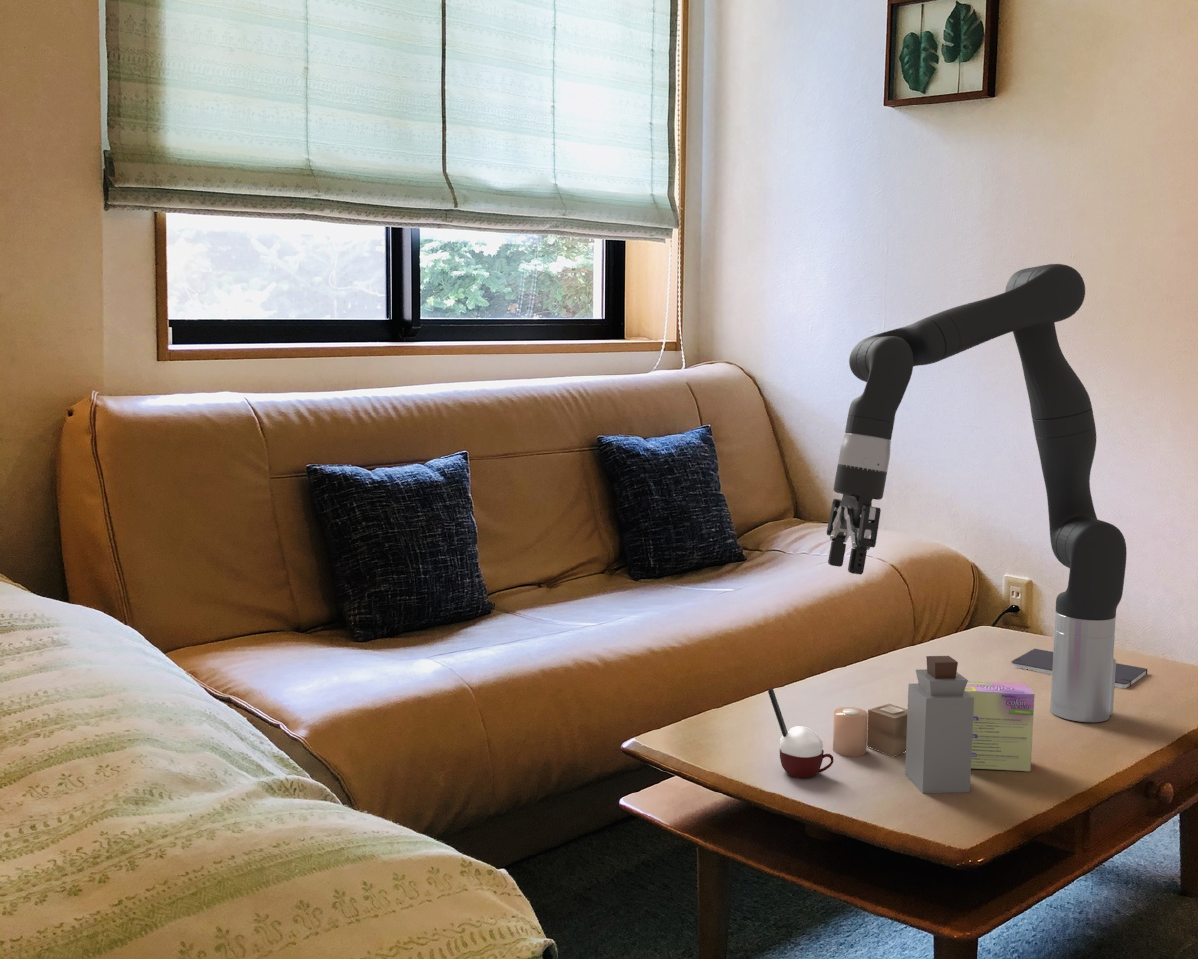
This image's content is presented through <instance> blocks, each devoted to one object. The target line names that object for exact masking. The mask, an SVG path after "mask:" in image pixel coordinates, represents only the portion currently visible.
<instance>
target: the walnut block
mask: <svg viewBox="0 0 1198 959" xmlns="http://www.w3.org/2000/svg"><path fill="white" fill-rule="evenodd" d="M907 712H908V708H907V709H906V708H904V707H902V706H901V707H900V706H898V705H895V704H891V703H887V704H883V705H880V706H877V707H874V708H869V709H867V713H868V720H867V746H868V747H871V748H873V749H876V750H879V751H881V752H884V753H886V754H885V755H887V754H889V755H888V756H890V755H891V756H890V757H892V756H894V757H896V756H895V755H897V756H899V755H898V754H900V753H903V752H905V751H906V738H907ZM868 747H867V748H868ZM871 748H870V749H871ZM873 749H872V750H873ZM876 750H875V751H876ZM879 751H878V752H879ZM881 752H880V753H881ZM884 753H883V754H884ZM903 754H904V753H903ZM900 755H901V754H900Z"/></svg>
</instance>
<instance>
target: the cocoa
mask: <svg viewBox="0 0 1198 959" xmlns="http://www.w3.org/2000/svg"><path fill="white" fill-rule="evenodd" d="M767 690H768V691H767V692H768V695H769V699H770V702H771V706H772V707H773V710H774V713H775V716H776V720H777V723H778V726H779V728H780V731H781V734H782V735H781V737H780V739H779V759H780V760H779V761H780V763H781V767H782V769H783V770H784V771H785V774H786V773H787V775H789V776H791V777H793V778H797V779H809V778H812V777H814V776H816V775H817V774H821V773H823V772H825V771H826V770H828V769H830V768H831V767H832V765H833V763H834V757H833V755H832V754H831V753H824V750H823V748H824V744H823V741H822V739H821V738H820V736H819V735H818V733H817V732H816V731H815V730H814V729H811V728H809V727H807V726H802V725H801V726H800V725H797V726H796V725H795V726H793V727H791V728H790V729H789V730H788V728H787V725H786V723H785V721H784V720H785V719H784V717H783V715H782V714H783V713H782V712H781V711H782V710H781V708H780V705H779V702H778V699H777V695H776V694H775V690H774V688H773V687H772V686H770V688H768V689H767ZM825 758H829V759H830V762H829V763H827V765H825V766H824V767H822V768H821V766H822V764H823V761H824V760H823V759H825Z"/></svg>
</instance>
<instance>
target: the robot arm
mask: <svg viewBox="0 0 1198 959" xmlns="http://www.w3.org/2000/svg"><path fill="white" fill-rule="evenodd" d="M1084 281H1085V280H1084V279H1083V277H1082V275H1081V274H1080V272H1079V271H1078V270H1077V269H1076V268H1073V267H1072V266H1070V265H1067V264H1062V263H1049V264H1048V263H1047V264H1043V265H1037V266H1032V267H1027V268H1022V269H1019V270H1018V271H1016V272H1014V273H1013V274H1012V275H1011V276H1010V277H1009V279H1008V281H1007V283H1006V286H1005V290H1004V292H1002V293H1000V294H996V295H994V296H990V297H987V298H984V299H980V300H976V301H973V302H969V303H966V304H961V305H958V306H955V307H952V308H949V309H946V310H942V311H940V312H937V313H934V314H932V315H929V316H926V317H924V318H921V319H920V320H917V321H915V322H914V323H911V324H908V325H906V326H902V327H899V328H894V329H891V330H887V331H883V332H881V333H880V332H879V333H877V334H874V335H871V336H868V337H865V338H864V339H862V340H861V341H859V342H858V343H857V344H856V345H855V346H853V348H852V350H851V352H850V354H849V358H848V359H849V360H848V363H849V369H850V371H851V372H852V374H853V375H854V376H855V377H856V378H857V379H859V380H861V381H862V382H865V383H866V384H865V387H864V390H863V392H862V394H861V395H860V396H858V397H856V398H854V399H853V400H852V401H851V403H850V405H849V407H848V413H847V418H846V426H845V430H844V436H843V439H842V443H841V445H840V450H839V454H838V461H837V466H836V473H835V476H834V477H835V478H834V484H833V491H834V492H835V493H837V494H841V495H842V498H841V499H839V498H833V500H832V504H831V509H830V512H829V513H830V514H829V519H828V524H827V528H826V536H829V540H830V541H831V543H830V547H829V548H830V549H829V555H828V559H827V560H828V561H827V563H828V565H830V566H833V567H839V568H840V567H842V566H843V564H844V560H845V553H846V547H847V542H848V539H849V538H851V539H850V540H851V549H850V555H849V561H848V566H847V571H848V573H850V574H852V575H853V574H854V575H862V574H863V573H864V571H865V564H866V559H867V553H868V551H870V549H871V548H875V547H876V544H877V538H878V532H879V523H880V517H881V508H880V507H876V506H872V504H873V503H872V502H873V500H875V501H880V500H882V499H883V497H884V493H885V487H886V481H887V475H888V470H889V463H890V458H891V444H892V443H891V442H892V437H893V431H894V427H895V426H894V424H895V420H896V419H895V418H896V413H897V411H898V409H899V407H900V404H901V403H902V400H903V398H904V396H905V393H906V391H907V388H908V386H909V383H910V380H911V377H912V374H913V369H914V367H918V366H926V365H931V364H936V363H937V362H941V361H943V360H945V359H948V358H950V357H952V356H955V355H958V354H960V353H962V352H965V351H967V350H969V349H972V348H974V347H976V346H979V345H981V344H983V343H984V344H985V343H987V342H988V341H991V340H993V339H997V338H999V337H1001V336H1004V335H1007V334H1009V333H1012V335H1013V338H1014V340H1015V344H1016V347H1017V350H1018V355H1019V358H1020V361H1021V362H1020V363H1021V366H1022V372H1023V377H1024V381H1025V386H1026V391H1027V395H1028V400H1029V406H1030V414H1031V420H1032V425H1033V430H1034V436H1035V441H1036V446H1037V449H1038V450H1037V451H1038V456H1039V460H1040V466H1041V470H1042V476H1043V480H1044V486H1045V490H1046V498H1047V508H1048V509H1047V511H1048V523H1049V525H1048V527H1049V537H1050V539H1049V540H1050V547H1051V550H1052V553H1053V554H1054V557H1055V558H1056V559H1057V561H1058V562H1060V564H1062V565H1063V566H1064V567H1066V568H1068V569H1069V574H1068V582H1067V588H1066V590H1065V591H1062V592H1060V593H1059V594H1058V595H1057V596H1056V598H1055V599H1056V600H1055V612H1054V630H1053V649H1052V650H1053V651H1052V652H1053V667H1052V675H1051V687H1050V689H1051V691H1050V707H1049V708H1050V709H1049V711H1050V712H1051V714H1053V715H1055V716H1057V717H1059V718H1062V719H1065V720H1069V721H1074V722H1075V721H1076V722H1080V723H1081V722H1083V723H1101V722H1105V721H1108V720H1109V719H1110V716H1111V715H1113V713H1114V702H1115V701H1114V700H1115V699H1114V698H1115V688H1116V687H1115V670H1116V663H1117V660H1116V659H1115V658H1114V654H1115V653H1114V652H1115V639H1116V638H1115V637H1116V636H1115V633H1116V617H1117V608H1118V606H1119V604H1120V602H1121V599H1122V598H1123V592H1124V583H1125V575H1126V568H1127V566H1126V565H1127V552H1128V551H1127V543H1126V538H1125V536H1124V534H1123V533H1122V532H1121V530H1120V529H1119V528H1118V527H1117V526H1116V525H1114V524H1112V523H1109V522H1107V521H1104V520H1100V519H1098V518H1097V514H1096V511H1095V506H1094V502H1093V498H1092V493H1091V483H1090V480H1091V479H1090V478H1091V472H1092V471H1091V470H1092V466H1093V462H1094V457H1095V452H1096V447H1097V428H1096V427H1097V426H1096V422H1095V418H1094V417H1095V416H1094V411H1093V406H1092V402H1091V398H1090V395H1089V393H1088V390H1087V389H1086V387H1085V386H1084V384H1083V382H1082V381H1081V379H1080V378H1079V376H1078V375H1077V374H1076V372H1075V370H1074V369H1073V368H1072V366H1071V365H1070V363H1069V362H1068V360H1067V359H1066V357H1065V356H1064V354H1063V352H1062V348H1061V346H1060V343H1059V340H1058V335H1057V329H1056V323H1058V322H1063V321H1064V320H1066V319H1069V318H1070V317H1072V316H1074V315H1075V314H1076V313H1077V312H1078V311H1079V310H1080V308H1081V307H1082V305H1083V303H1084V300H1085V296H1086V286H1085V285H1086V284H1085V282H1084Z"/></svg>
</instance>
